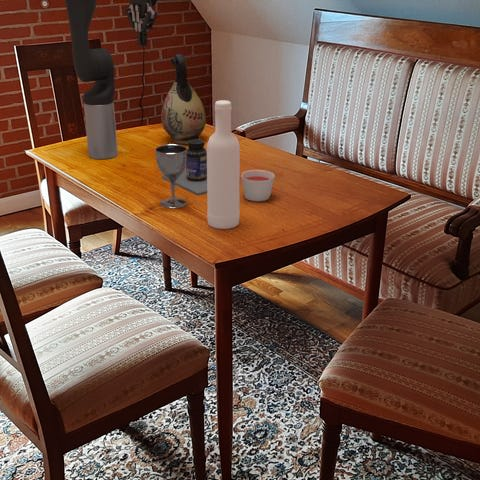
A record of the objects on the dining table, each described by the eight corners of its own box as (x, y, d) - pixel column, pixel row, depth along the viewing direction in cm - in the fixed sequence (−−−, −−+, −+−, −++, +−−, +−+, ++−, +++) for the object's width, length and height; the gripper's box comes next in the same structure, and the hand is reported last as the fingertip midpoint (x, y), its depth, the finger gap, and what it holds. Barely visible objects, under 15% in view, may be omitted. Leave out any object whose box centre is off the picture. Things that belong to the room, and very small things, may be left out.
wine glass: (176, 211, 160) (174, 155, 154) (152, 204, 164) (149, 149, 158) (194, 201, 166) (193, 147, 160) (170, 195, 170) (168, 142, 164)
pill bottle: (204, 182, 178) (203, 145, 173) (183, 180, 179) (182, 143, 174) (209, 175, 183) (209, 139, 179) (189, 173, 185) (188, 137, 180)
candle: (234, 195, 171) (234, 174, 168) (259, 189, 176) (260, 167, 173) (254, 205, 164) (255, 183, 161) (280, 198, 169) (281, 176, 166)
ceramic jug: (159, 135, 223) (155, 49, 210) (201, 133, 227) (200, 48, 214) (165, 149, 208) (161, 57, 195) (211, 146, 212) (210, 56, 199)
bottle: (237, 216, 158) (238, 97, 145) (241, 228, 151) (242, 105, 138) (206, 217, 157) (204, 98, 144) (208, 230, 150) (206, 106, 137)
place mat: (161, 177, 183) (161, 175, 183) (195, 169, 190) (195, 167, 190) (197, 195, 171) (197, 193, 170) (232, 185, 177) (232, 183, 177)
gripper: (164, -23, 160) (167, 47, 168) (138, -25, 169) (141, 41, 177) (139, -22, 156) (143, 50, 163) (113, -24, 165) (118, 44, 172)
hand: (142, 45), depth 170 cm, fingers closed
